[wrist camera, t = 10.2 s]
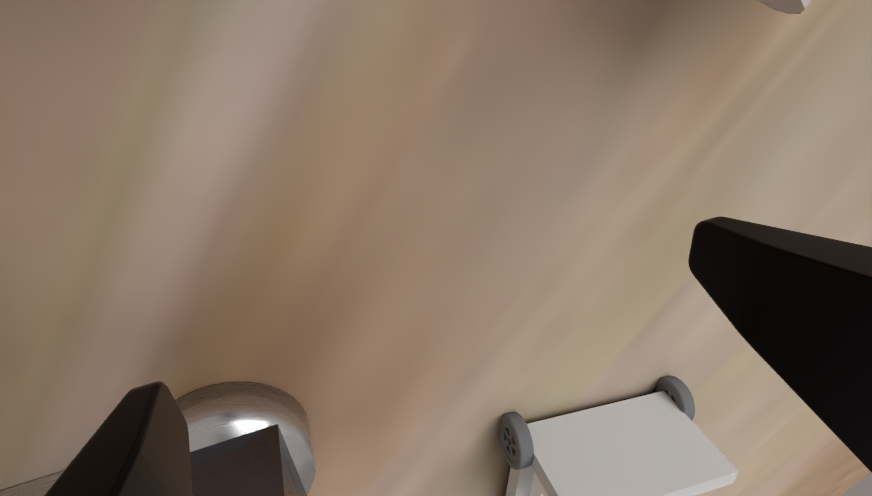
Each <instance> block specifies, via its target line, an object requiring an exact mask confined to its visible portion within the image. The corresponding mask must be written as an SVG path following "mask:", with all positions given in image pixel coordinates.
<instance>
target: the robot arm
mask: <svg viewBox="0 0 872 496" xmlns="http://www.w3.org/2000/svg"><path fill="white" fill-rule="evenodd" d="M688 262H689V267H690V270H691V272H692V274H693V275H694V276H695V278H696V279H697V280H698V281H699V283H700V284H701V285H702V287H703V288H704V289H705V290H706V292H707V293H708V294H709V295H710V297H711V298H712V299H713V301H714V302H715V303H716V304H717V306H718V307H719V308H720V309H721V311H722V312H723V313H724V314H725V316H726V317H727V318H728V320H729V321H730V322H731V323H732V325H733V326H734V327H735V328H736V330H737V331H738V332H739V333H740V334H741V336H742V337H743V338H744V339H745V340H746V341H747V342H748V343H749V345H750V346H751V347H752V348H753V349H754V350H755V351H756V352H757V353H758V354H759V355H760V356H761V357H762V358H763V359H764V360H765V361H766V363H767V364H768V365H769V366H770V367H771V368H772V369H773V370H774V371H775V372H776V373H777V374H778V375H779V376H780V377H781V378H782V379H783V380H784V381H785V382H786V383H787V384H788V386H789V387H790V388H791V389H792V390H793V391H794V392H795V393H796V394H797V395H798V396H799V397H800V398H801V399H802V400H803V401H804V402H805V403H806V404H807V405H808V406H809V407H810V409H811V410H812V411H813V412H814V413H815V414H816V415H817V416H818V417H819V418H820V419H821V420H822V421H823V422H824V423H825V424H826V425H827V426H828V427H829V428H830V429H831V430H832V432H833V433H834V434H835V435H836V436H837V437H838V438H839V439H840V440H841V441H842V442H843V443H844V444H845V445H846V446H847V447H848V448H849V449H850V450H851V451H852V452H853V453H854V455H855V456H856V457H857V458H858V459H859V460H860V461H861V462H862V463H863V464H864V465H865V466H866V467H867V468H868V469H869V470H870V471H871V472H872V247H868V246H863V245H858V244H854V243H849V242H844V241H839V240H834V239H829V238H824V237H819V236H815V235H810V234H805V233H800V232H795V231H790V230H785V229H780V228H776V227H771V226H766V225H761V224H756V223H751V222H746V221H741V220H736V219H732V218H727V217H714V218H711V219H707V220H704V221H701V222H699V223H698V224H697V225H696V227H695V229H694V233H693V238H692V243H691V249H690V254H689V260H688ZM44 496H193V494H192V478H191V462H190V447H189V432H188V427H187V423H186V420H185V418H184V416H183V414H182V412H181V410H180V408H179V407H178V405H177V403H176V401H175V399H174V398H173V396H172V394H171V392H170V390H169V389H168V387H167V386H166V385H165V384H164V383H163V382H159V381H157V382H153V383H150V384H146V385H143V386H140V387H136V388H134V389H132V390H130V391H129V392H128V393H127V394H126V395H125V397H124V398H123V399H122V400H121V402H120V403H119V404H118V405H117V406H116V408H115V409H114V410H113V411H112V413H111V414H110V415H109V416H108V418H107V419H106V420H105V421H104V422H103V424H102V425H101V426H100V427H99V429H98V430H97V431H96V432H95V434H94V435H93V436H92V437H91V438H90V440H89V441H88V442H87V443H86V445H85V446H84V447H83V448H82V450H81V451H80V452H79V453H78V454H77V456H76V457H75V458H74V459H73V461H72V462H71V463H70V464H69V466H68V467H67V468H66V469H65V470H64V472H63V473H62V474H61V475H60V477H59V478H58V479H57V480H56V482H55V483H54V484H53V485H52V486H51V488H50V489H49V490H48V491H47V493H46V494H45V495H44Z"/></svg>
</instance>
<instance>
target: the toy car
mask: <svg viewBox="0 0 872 496" xmlns="http://www.w3.org/2000/svg"><path fill="white" fill-rule="evenodd" d="M694 414H695V405H694V400H693V397H692V395H691V392H690V391H689V389H688V387H687V386H686V385H685V384H684V383H683V382H682V381H681V380H680V379H678V378H676V377H674V376H666V377H662V378H660V379H659V380H658V383H657V389H656V392H655V393H652V394H648V395H644V396H640V397H636V398H632V399H627V400H623V401H619V402H615V403H611V404H607V405H603V406H599V407H594V408H590V409H586V410H582V411H578V412H574V413H570V414H565V415H561V416H557V417H553V418H549V419H545V420H541V421H537V422H532V423H528V424H526V422H525V420H524V419H523V417H522V416H521V415H520V414H519V413H517V412H511V413H507V414H504V415H503V416H502V420H501V423H502V428H501V431H500V433H499V442H500V446H501V449H502V452H503V454H504V457H505V459H506V461H507V462H508V464H509V465H510V466H511V469H510V474H509V480H508V485H507V491H506V496H695V495H698V494H702V493H705V492H708V491H711V490H714V489H717V488H720V487H723V486H727V485H730V484H733V482H734V480H735V478H736V476H737V474H738V472H739V471H738V470H737V469H736V468H735V467H734V466H733V465H732V464H731V463H730V461H729V460H728V459H727V458H726V457H725V456H724V455H723V454H722V453H721V452H720V451H719V450H718V449H717V447H716V446H715V445H714V444H713V443H712V442H711V441H710V440H709V439H708V438H707V437H706V436H705V435H704V434H703V432H702V431H701V430H700V429H699V428H698V427H697V426H696V425H695V424H694V423H693V422H692V420H693V418H694Z"/></svg>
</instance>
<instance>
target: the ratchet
mask: <svg viewBox="0 0 872 496" xmlns="http://www.w3.org/2000/svg"><path fill="white" fill-rule="evenodd" d="M175 401H176V403H177V405H178V407H179V408H180V410H181V412H182V414H183V416H184V418H185V420H186V423H187V427H188V432H189V447H190V452H192V451H195V450H198V449H201V448H204V447H207V446H210V445H214V444H217V443H220V442H223V441H226V440H229V439H232V438H235V437H238V436H242V435H245V434H248V433H251V432H254V431H257V430H260V429H263V428H266V427H269V426H273V425H276V424H278V426H279V428H280V430H281V433H282V435H283V438H284V440H285V443H286V445H287V448H288V450H289V453H290V455H291V457H292V460H293V462H294V465H295V467H296V470H297V472H298V475H299V477H300V479H301V482H302V484H303V487H304V489H305V492H306V494H307V493H308V492H309V490H310V488H311V486H312V483H313V480H314V475H315V464H314V458H313V451H312V445H311V438H310V432H309V425H308V420H307V416H306V414H305V411H304V409H303V408H302V406H301V405H300V404H299V403H298V402H297V401H296V400H295V399H294V398H293V397H292V396H290V395H289V394H287V393H286V392H284V391H282V390H280V389H277V388H275V387H272V386H268V385H264V384H260V383H252V382H229V383H222V384H215V385H211V386H207V387H204V388H201V389H198V390H195V391H193V392H190V393H188V394H186V395H184V396H182V397H180V398H179V399H177V400H175ZM63 472H64V471H62V472H59V473H56V474H53V475H50V476H46V477H43V478H40V479H37V480H34V481H31V482H27V483H24V484H21V485H18V486H15V487H12V488H8V489H5V490H2V491H0V496H44V495H45V494H46V493H47V491H48V490H49V489H50V488H51V486H52V485H53V484H54V483H55V482H56V480H57V479H58V478H59V477H60V475H61V474H62V473H63Z"/></svg>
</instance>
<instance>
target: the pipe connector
mask: <svg viewBox="0 0 872 496" xmlns="http://www.w3.org/2000/svg"><path fill="white" fill-rule="evenodd" d="M758 1H759V2H761V3H762V4H764V5H766V6H768V7H770V8H772V9H774V10H777V11H780V12H784V13H787V14H800V13H801V12H802V11H803V10H804V9H805V8H806V7H807V5H808V4H809V3H810V1H811V0H758Z"/></svg>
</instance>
